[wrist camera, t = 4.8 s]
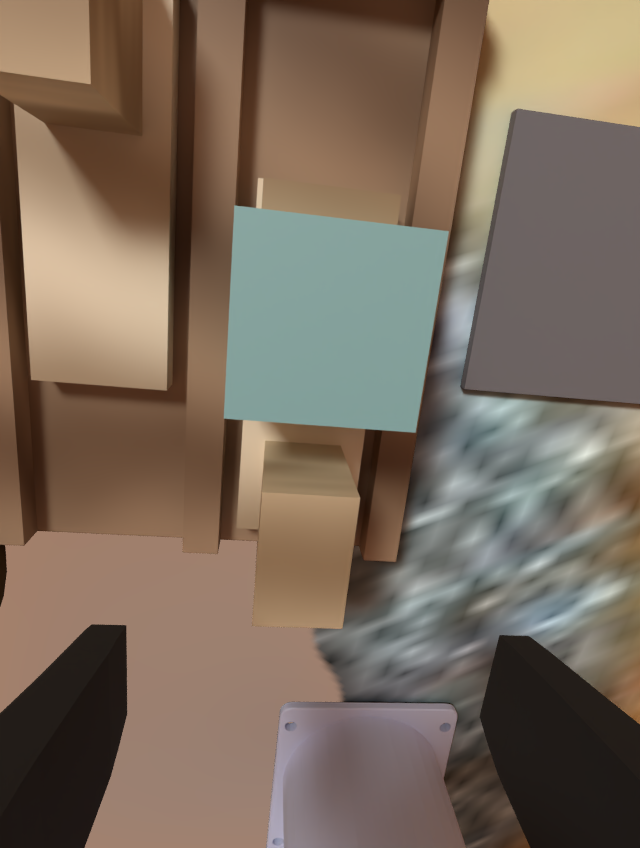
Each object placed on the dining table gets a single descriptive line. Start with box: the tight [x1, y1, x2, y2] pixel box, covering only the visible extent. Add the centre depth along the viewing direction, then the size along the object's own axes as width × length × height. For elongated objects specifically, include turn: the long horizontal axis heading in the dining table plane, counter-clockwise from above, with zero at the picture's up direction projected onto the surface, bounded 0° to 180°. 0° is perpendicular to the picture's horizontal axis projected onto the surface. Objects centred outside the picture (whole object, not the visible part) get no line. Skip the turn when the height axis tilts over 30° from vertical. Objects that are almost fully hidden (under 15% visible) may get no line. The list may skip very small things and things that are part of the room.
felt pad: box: [461, 109, 640, 404], centre depth 18 cm, size 9×9×1 cm
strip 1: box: [0, 0, 180, 391], centre depth 12 cm, size 11×4×5 cm, turn 174°
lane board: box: [0, 0, 489, 562], centre depth 16 cm, size 18×14×2 cm
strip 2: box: [236, 177, 401, 629], centre depth 15 cm, size 12×4×5 cm, turn 174°
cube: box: [224, 205, 449, 433], centre depth 13 cm, size 4×4×4 cm
